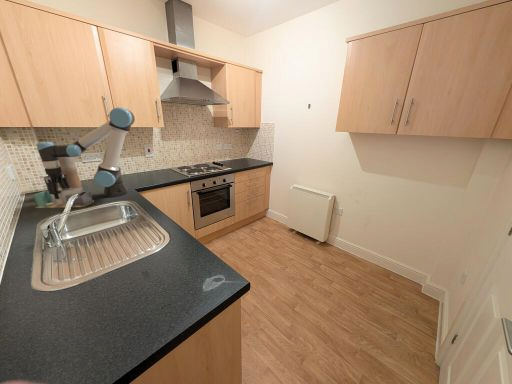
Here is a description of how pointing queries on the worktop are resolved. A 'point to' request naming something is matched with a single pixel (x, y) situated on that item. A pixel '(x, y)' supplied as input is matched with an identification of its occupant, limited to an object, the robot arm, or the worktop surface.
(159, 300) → the worktop surface
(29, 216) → the worktop surface
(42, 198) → the socket
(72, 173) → the vase
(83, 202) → the sleeve
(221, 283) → the worktop surface
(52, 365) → the worktop surface
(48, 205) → the board
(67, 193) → the tube
